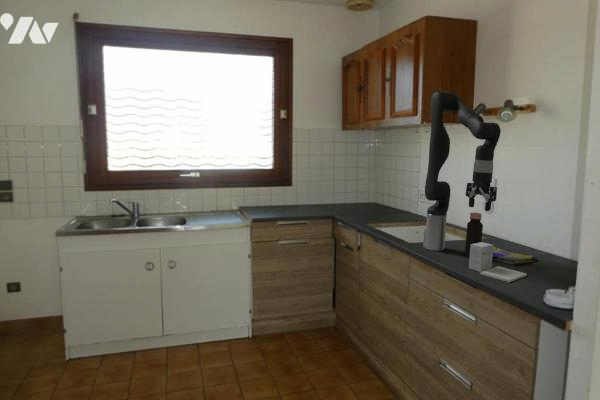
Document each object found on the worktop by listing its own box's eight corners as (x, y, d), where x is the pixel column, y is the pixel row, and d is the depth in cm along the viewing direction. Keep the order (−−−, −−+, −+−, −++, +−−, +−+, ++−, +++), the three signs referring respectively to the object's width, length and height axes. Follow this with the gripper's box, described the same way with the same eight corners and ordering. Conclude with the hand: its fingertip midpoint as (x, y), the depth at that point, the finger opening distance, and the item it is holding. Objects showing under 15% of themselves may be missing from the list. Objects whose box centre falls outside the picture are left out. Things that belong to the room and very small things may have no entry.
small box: (480, 265, 185) (482, 241, 183) (491, 269, 180) (493, 244, 179) (468, 268, 181) (470, 244, 179) (480, 272, 176) (482, 247, 174)
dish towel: (491, 249, 215) (492, 244, 214) (539, 261, 194) (540, 255, 194) (468, 253, 206) (469, 248, 205) (516, 267, 185) (517, 261, 185)
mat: (479, 274, 173) (480, 272, 173) (497, 268, 181) (498, 266, 181) (509, 282, 164) (509, 280, 164) (526, 275, 172) (527, 273, 172)
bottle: (462, 253, 204) (466, 212, 201) (477, 253, 203) (480, 212, 200) (467, 257, 197) (470, 214, 194) (482, 257, 197) (486, 215, 194)
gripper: (463, 169, 184) (459, 206, 187) (490, 172, 171) (486, 212, 174) (476, 169, 187) (472, 205, 190) (503, 172, 174) (499, 211, 177)
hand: (479, 208), depth 182 cm, fingers open, 8 cm apart
